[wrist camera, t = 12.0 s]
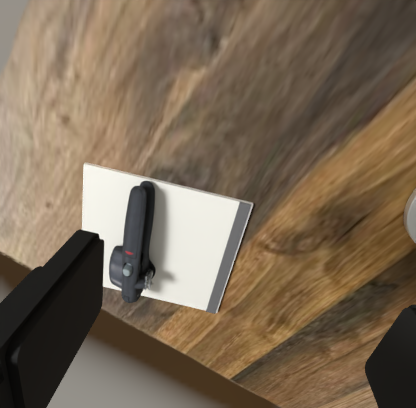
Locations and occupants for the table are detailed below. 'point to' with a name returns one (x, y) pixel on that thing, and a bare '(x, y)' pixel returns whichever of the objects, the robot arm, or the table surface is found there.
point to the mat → (170, 234)
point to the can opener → (135, 245)
